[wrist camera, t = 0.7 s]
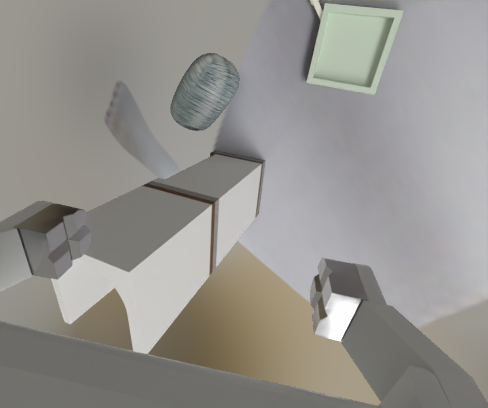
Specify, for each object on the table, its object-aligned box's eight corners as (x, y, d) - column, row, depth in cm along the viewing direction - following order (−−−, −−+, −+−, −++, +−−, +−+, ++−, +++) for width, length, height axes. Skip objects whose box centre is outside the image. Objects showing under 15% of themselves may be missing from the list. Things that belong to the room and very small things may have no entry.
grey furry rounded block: (204, 149, 51) (166, 129, 42) (185, 114, 55) (147, 89, 46) (260, 100, 47) (231, 66, 38) (236, 65, 50) (205, 27, 42)
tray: (326, 6, 38) (325, 3, 37) (402, 13, 35) (403, 10, 34) (308, 82, 43) (306, 82, 41) (374, 94, 40) (374, 94, 39)
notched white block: (215, 150, 54) (37, 235, 25) (265, 160, 51) (129, 272, 21) (213, 201, 59) (64, 321, 30) (258, 213, 56) (141, 361, 27)
